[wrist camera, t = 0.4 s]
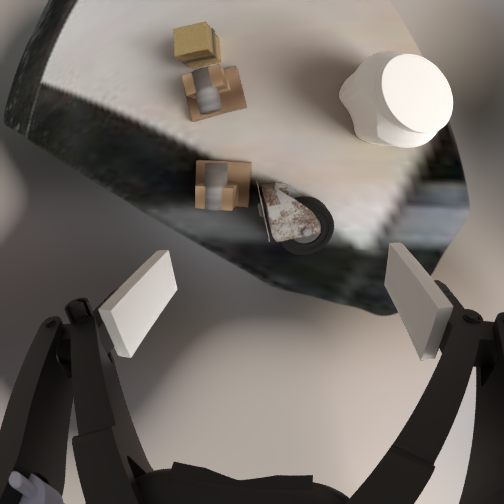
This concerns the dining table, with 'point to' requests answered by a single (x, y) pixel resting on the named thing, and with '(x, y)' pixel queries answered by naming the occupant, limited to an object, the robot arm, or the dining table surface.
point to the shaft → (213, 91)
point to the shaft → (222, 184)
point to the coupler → (197, 45)
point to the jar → (397, 99)
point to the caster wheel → (295, 218)
